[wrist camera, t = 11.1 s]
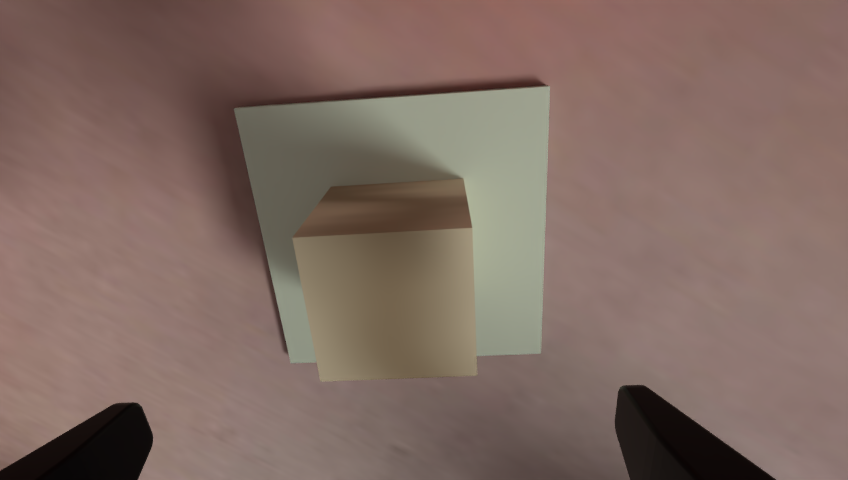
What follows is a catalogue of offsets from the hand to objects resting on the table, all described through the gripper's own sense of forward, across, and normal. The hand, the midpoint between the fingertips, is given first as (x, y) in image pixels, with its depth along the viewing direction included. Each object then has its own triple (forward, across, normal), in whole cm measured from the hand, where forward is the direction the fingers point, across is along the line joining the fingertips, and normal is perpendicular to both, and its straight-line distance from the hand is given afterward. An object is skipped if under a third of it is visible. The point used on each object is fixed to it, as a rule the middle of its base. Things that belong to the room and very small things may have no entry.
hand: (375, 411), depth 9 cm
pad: (+9, 0, 0) cm, 9 cm away
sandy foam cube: (+8, 0, 0) cm, 8 cm away
